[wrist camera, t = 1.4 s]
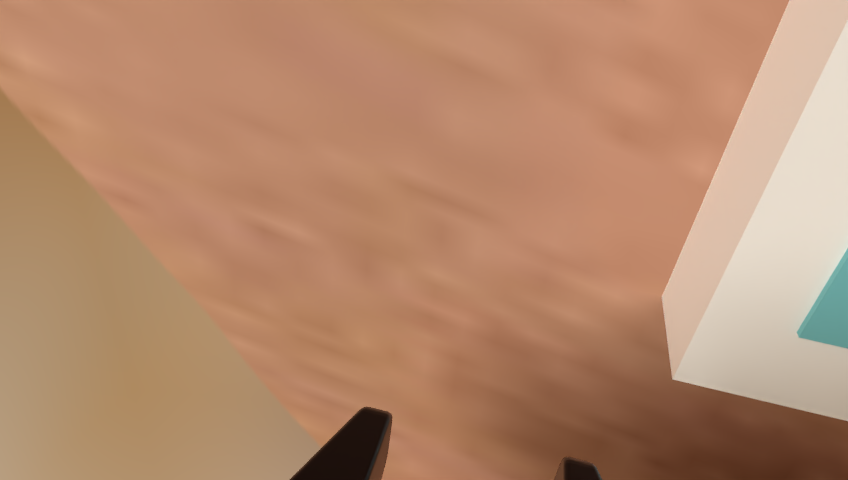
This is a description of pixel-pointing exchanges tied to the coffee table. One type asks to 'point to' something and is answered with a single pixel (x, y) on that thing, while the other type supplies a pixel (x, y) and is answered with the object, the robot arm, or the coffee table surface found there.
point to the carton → (775, 233)
